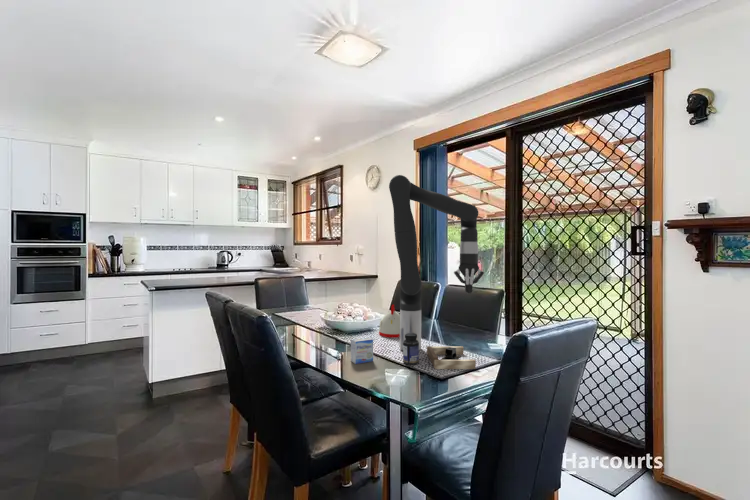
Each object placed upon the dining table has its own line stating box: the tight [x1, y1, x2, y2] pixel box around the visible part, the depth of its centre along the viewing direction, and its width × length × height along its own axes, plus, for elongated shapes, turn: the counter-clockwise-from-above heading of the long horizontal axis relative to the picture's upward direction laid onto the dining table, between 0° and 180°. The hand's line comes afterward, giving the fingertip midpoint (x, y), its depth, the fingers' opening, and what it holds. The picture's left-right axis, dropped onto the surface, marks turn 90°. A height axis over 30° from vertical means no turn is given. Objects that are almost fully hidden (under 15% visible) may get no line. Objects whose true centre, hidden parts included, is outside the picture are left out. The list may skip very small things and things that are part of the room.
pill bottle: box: [402, 333, 420, 366], centre depth 146 cm, size 6×6×11 cm
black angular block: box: [440, 347, 461, 360], centre depth 152 cm, size 12×7×5 cm, turn 145°
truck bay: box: [426, 345, 477, 370], centre depth 149 cm, size 15×19×4 cm
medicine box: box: [350, 337, 374, 365], centre depth 148 cm, size 8×4×9 cm, turn 117°
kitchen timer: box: [378, 304, 400, 339], centre depth 191 cm, size 14×14×15 cm
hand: (468, 293), depth 160 cm, fingers closed
